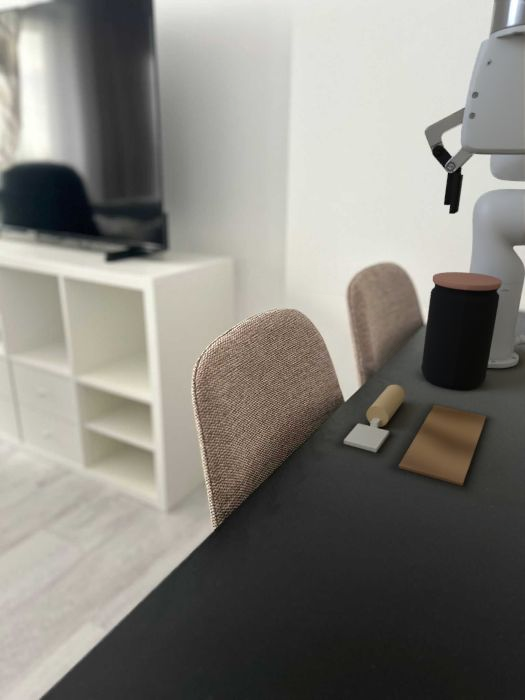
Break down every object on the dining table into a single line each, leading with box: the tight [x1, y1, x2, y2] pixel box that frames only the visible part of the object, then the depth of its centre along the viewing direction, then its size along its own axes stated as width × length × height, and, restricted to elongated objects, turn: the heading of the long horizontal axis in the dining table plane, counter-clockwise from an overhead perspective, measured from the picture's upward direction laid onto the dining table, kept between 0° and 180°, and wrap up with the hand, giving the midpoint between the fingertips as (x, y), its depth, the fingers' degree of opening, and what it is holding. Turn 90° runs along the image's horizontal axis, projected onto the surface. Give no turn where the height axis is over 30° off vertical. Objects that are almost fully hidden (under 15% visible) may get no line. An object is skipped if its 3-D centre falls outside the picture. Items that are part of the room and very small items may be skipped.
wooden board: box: [398, 404, 487, 487], centre depth 69 cm, size 20×8×1 cm, turn 150°
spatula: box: [343, 384, 406, 453], centre depth 73 cm, size 16×4×3 cm, turn 150°
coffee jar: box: [420, 271, 502, 391], centre depth 87 cm, size 11×11×18 cm
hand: (502, 215), depth 53 cm, fingers open, 9 cm apart
